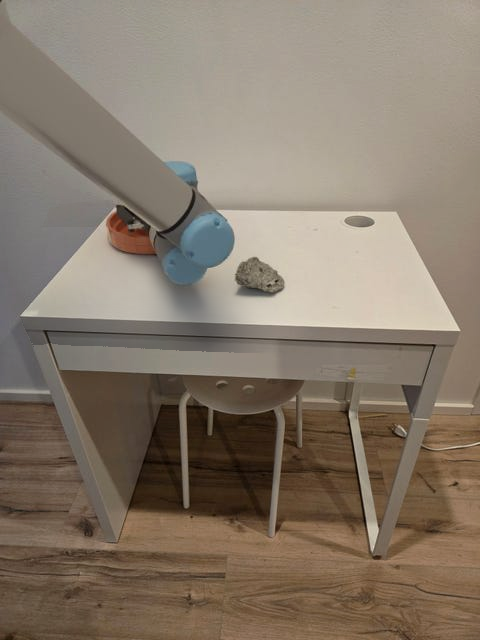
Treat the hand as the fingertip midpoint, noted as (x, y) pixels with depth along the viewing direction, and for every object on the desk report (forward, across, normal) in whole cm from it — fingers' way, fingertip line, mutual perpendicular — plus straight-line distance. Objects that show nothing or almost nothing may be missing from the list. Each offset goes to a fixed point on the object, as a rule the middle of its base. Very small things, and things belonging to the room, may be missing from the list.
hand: (145, 194), depth 102 cm
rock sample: (-35, +15, -9) cm, 39 cm away
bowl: (-5, 0, -8) cm, 10 cm away
